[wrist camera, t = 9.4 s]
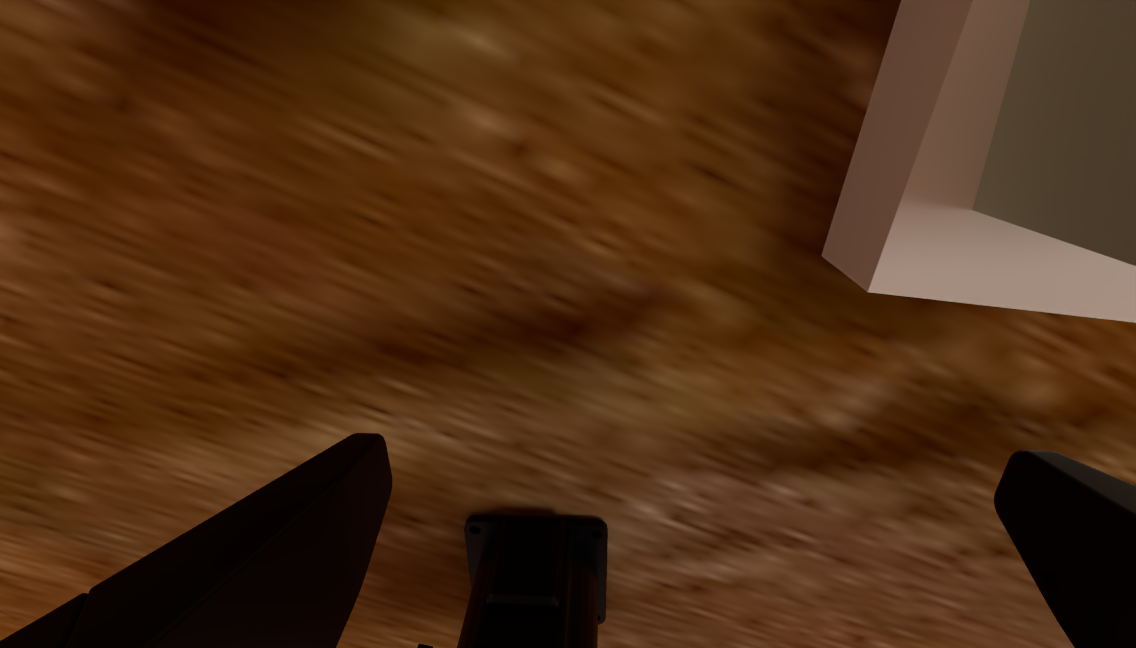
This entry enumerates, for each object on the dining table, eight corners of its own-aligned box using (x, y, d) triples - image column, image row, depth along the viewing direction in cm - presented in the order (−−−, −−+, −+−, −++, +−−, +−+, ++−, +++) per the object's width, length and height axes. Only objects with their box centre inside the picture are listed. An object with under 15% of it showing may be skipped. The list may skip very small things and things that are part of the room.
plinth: (1096, 283, 19) (1216, 331, 15) (816, 251, 19) (867, 292, 15) (1334, -146, 14) (1596, -228, 10) (950, -186, 14) (1075, -282, 10)
